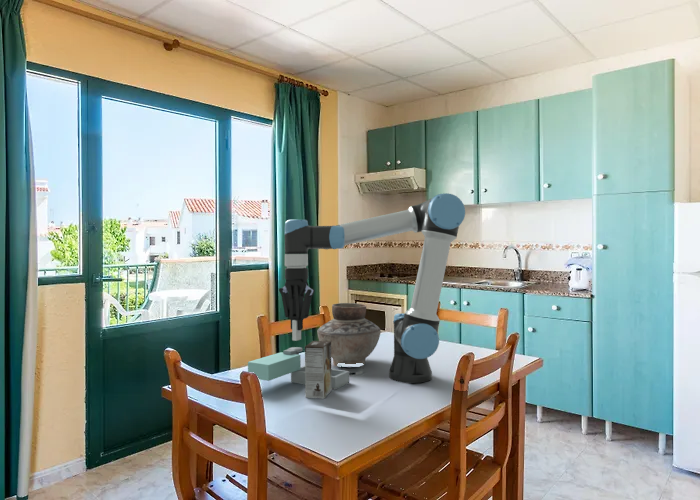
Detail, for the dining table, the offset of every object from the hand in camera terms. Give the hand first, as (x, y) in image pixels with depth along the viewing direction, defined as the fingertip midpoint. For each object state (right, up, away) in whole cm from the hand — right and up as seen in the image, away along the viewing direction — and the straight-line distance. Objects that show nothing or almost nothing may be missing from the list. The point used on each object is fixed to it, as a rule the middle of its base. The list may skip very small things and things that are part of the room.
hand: (296, 339), depth 155 cm
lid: (-6, -12, +7) cm, 15 cm away
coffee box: (+7, -17, -4) cm, 19 cm away
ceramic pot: (+17, -17, +33) cm, 41 cm away
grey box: (+6, -16, +9) cm, 20 cm away
